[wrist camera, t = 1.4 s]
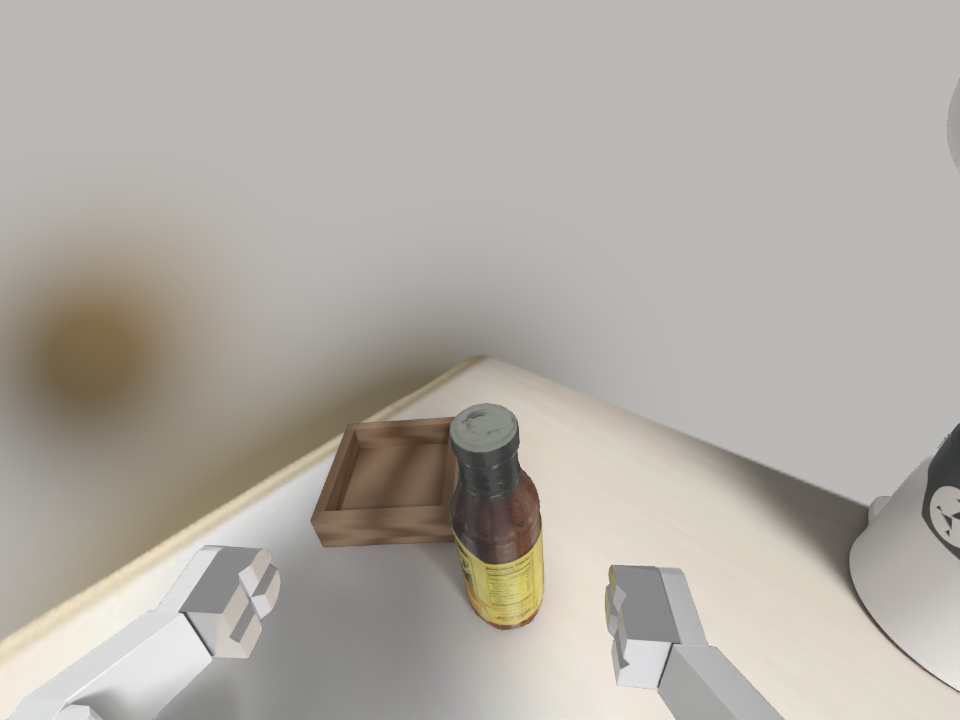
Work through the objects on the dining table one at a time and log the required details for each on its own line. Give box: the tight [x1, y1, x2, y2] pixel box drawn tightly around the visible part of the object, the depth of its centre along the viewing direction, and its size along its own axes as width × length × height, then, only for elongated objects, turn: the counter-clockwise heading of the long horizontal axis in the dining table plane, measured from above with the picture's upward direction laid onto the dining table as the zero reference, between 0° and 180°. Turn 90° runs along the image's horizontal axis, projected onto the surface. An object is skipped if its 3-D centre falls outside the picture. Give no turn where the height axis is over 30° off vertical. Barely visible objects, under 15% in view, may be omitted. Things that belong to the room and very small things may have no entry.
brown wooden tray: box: [311, 417, 459, 547], centre depth 47 cm, size 13×13×4 cm
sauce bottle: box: [449, 403, 544, 630], centre depth 32 cm, size 7×6×20 cm
